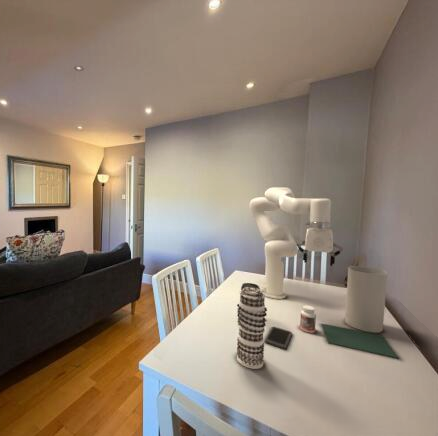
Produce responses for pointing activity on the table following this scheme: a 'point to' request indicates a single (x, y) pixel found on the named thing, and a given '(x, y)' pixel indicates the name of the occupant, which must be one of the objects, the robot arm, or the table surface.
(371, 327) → the cylinder vase
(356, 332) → the right mat
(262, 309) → the black white tall cylinder
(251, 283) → the coffee cup
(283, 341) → the cell phone
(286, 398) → the table surface
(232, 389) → the table surface
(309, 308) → the pill bottle
